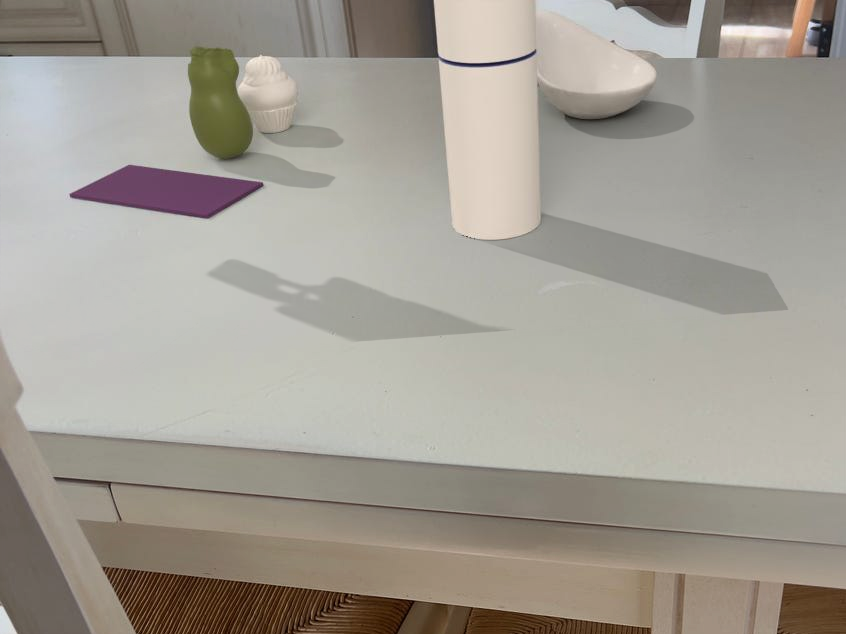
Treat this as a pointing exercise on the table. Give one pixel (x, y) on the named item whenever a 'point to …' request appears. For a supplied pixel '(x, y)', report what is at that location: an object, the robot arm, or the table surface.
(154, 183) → the cloth
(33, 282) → the table surface
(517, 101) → the cylindrical container
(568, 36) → the spoon rest
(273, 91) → the muffin
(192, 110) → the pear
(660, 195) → the table surface
